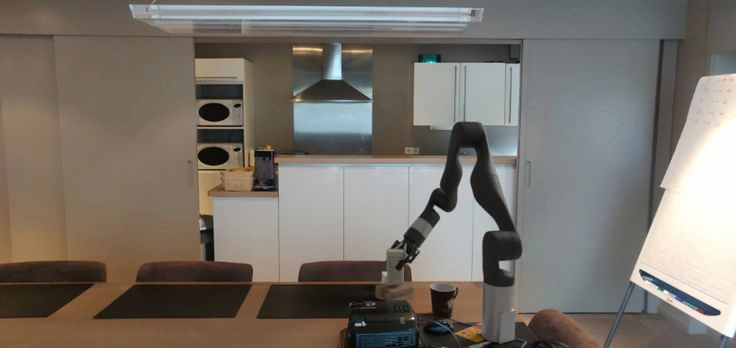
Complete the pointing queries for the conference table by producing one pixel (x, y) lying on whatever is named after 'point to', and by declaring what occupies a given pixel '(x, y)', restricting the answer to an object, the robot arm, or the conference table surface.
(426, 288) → the conference table surface
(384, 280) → the white cube
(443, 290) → the coffee mug
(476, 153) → the robot arm
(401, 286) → the walnut block
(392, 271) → the skincare box
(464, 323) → the conference table surface
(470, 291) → the conference table surface
